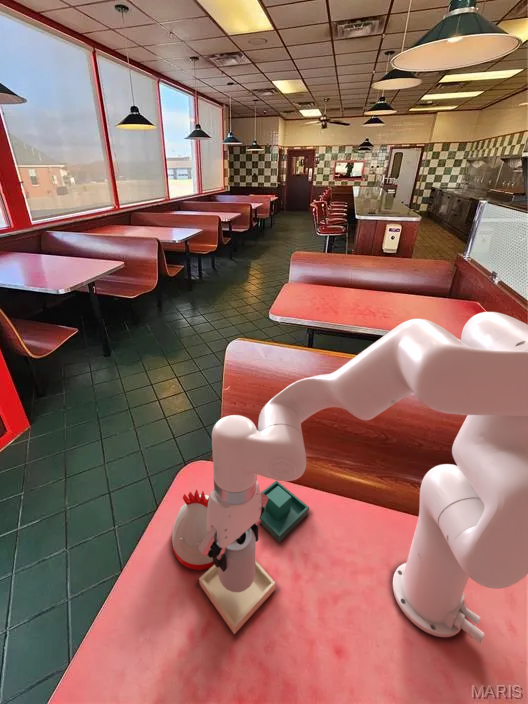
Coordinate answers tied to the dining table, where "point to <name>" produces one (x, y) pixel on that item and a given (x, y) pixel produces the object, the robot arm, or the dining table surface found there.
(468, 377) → the robot arm
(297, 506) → the green tray
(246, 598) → the cream tray
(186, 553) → the kitchen timer
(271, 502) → the block
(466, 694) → the dining table surface
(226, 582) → the can
